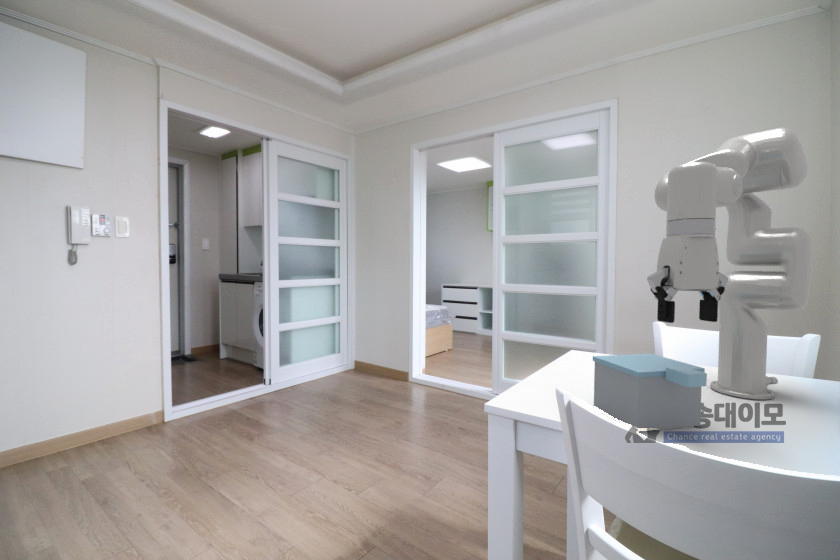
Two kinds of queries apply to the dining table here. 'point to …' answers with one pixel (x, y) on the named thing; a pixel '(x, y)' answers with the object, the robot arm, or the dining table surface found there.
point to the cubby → (646, 399)
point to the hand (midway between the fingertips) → (687, 321)
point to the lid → (656, 368)
